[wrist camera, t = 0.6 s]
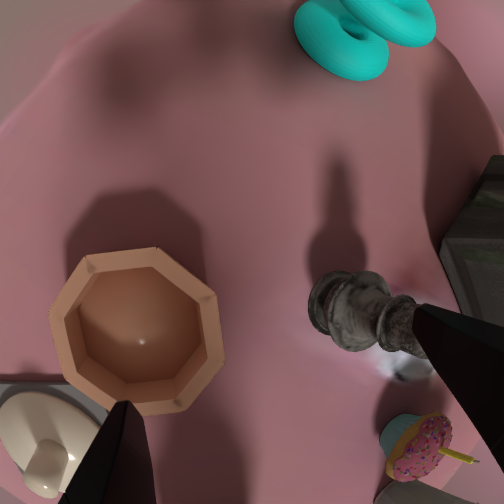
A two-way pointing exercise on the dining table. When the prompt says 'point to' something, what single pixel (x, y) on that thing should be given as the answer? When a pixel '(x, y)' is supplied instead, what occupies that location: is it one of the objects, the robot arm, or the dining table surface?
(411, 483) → the disposable coffee cup
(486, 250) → the bottle
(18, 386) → the mat
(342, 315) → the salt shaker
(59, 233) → the dining table surface
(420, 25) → the donuts
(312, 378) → the dining table surface
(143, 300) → the bowl
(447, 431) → the cupcake
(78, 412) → the lid
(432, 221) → the dining table surface
